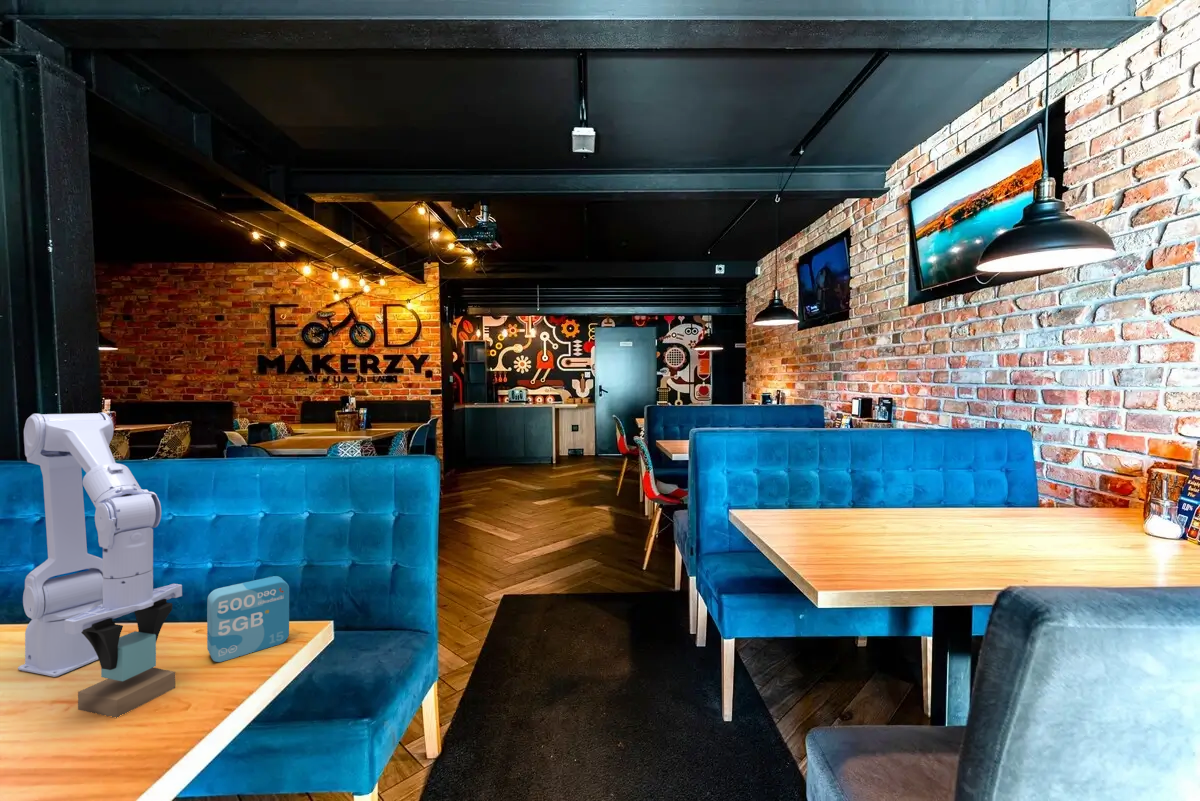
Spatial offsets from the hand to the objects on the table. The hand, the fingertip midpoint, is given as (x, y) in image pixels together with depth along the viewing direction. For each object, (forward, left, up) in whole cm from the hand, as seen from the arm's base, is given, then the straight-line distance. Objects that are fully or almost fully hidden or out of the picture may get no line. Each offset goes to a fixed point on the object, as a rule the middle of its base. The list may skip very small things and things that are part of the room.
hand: (128, 659), depth 78 cm
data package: (+4, +17, -6) cm, 19 cm away
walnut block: (0, 0, -6) cm, 6 cm away
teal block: (0, 0, -2) cm, 2 cm away
